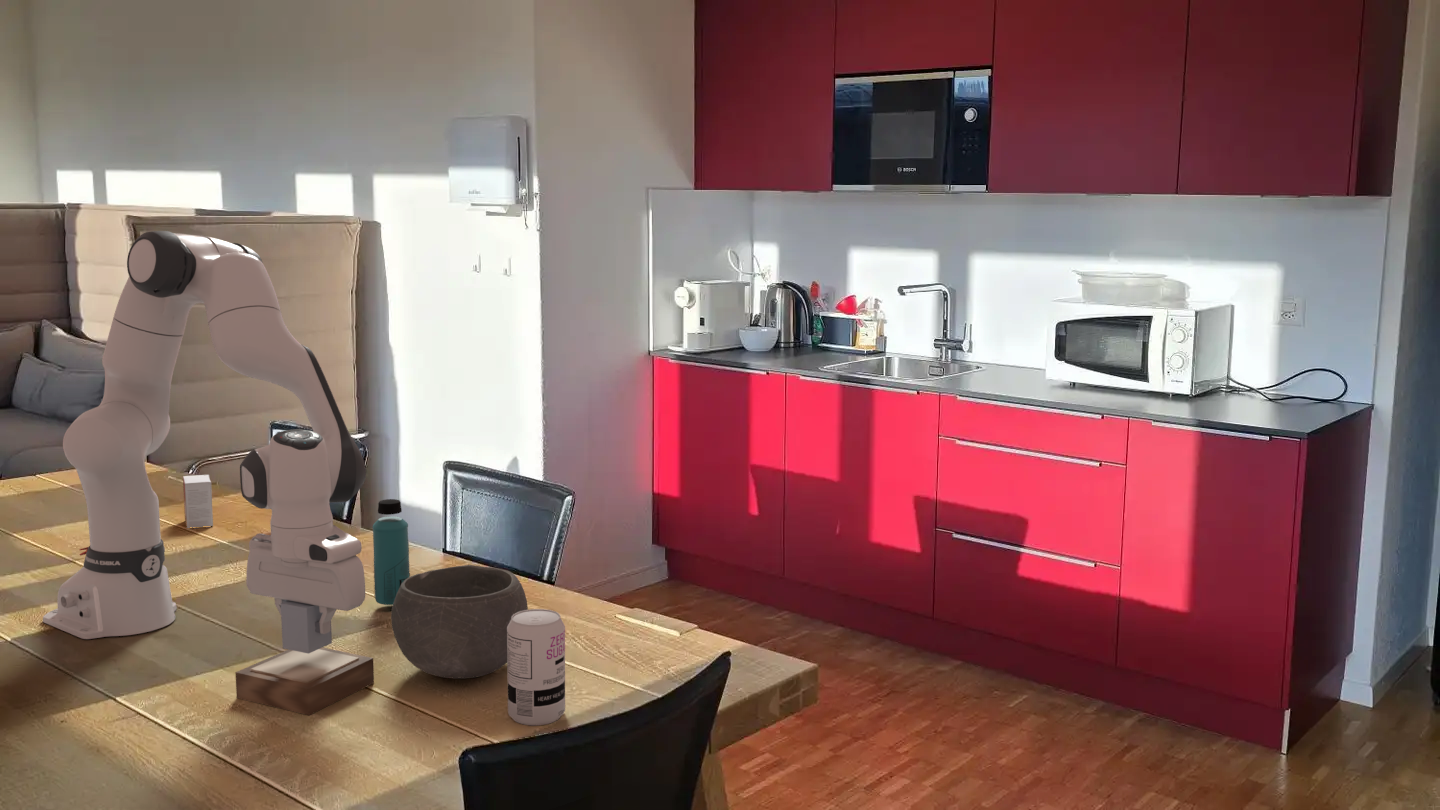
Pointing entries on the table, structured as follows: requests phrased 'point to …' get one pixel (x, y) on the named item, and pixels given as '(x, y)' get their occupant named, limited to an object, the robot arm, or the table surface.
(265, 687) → the base
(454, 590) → the bowl
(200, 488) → the small box
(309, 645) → the block
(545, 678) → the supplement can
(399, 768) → the table surface
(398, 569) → the beverage bottle
